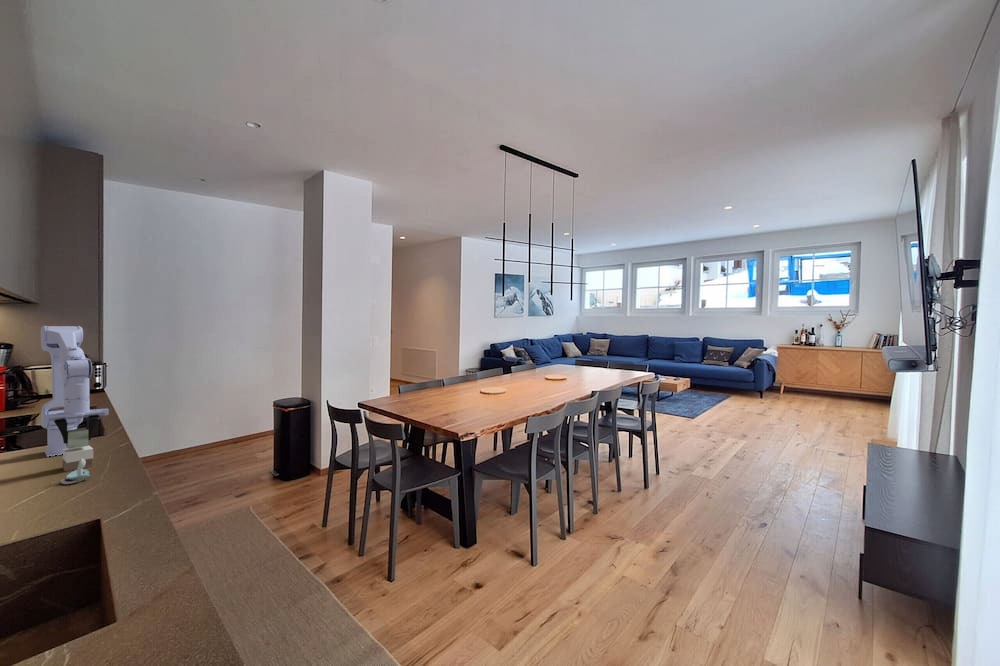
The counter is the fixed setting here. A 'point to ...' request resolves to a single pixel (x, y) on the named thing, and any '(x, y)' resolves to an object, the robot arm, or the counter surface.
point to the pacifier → (77, 474)
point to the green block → (77, 438)
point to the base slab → (75, 465)
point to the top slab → (77, 454)
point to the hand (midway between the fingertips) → (77, 441)
